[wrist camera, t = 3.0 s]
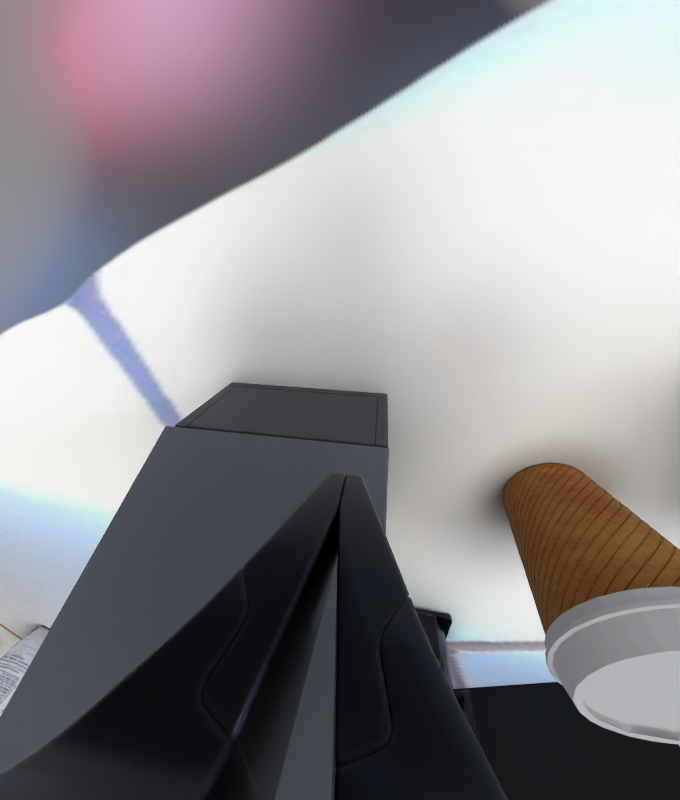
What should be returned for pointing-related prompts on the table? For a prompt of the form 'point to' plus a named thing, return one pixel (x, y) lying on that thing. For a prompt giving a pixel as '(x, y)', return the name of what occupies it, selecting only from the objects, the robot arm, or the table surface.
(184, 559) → the lid
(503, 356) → the table surface
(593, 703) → the disposable coffee cup
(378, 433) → the dark grey boxy piece
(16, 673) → the juice carton
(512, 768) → the coffee maker
